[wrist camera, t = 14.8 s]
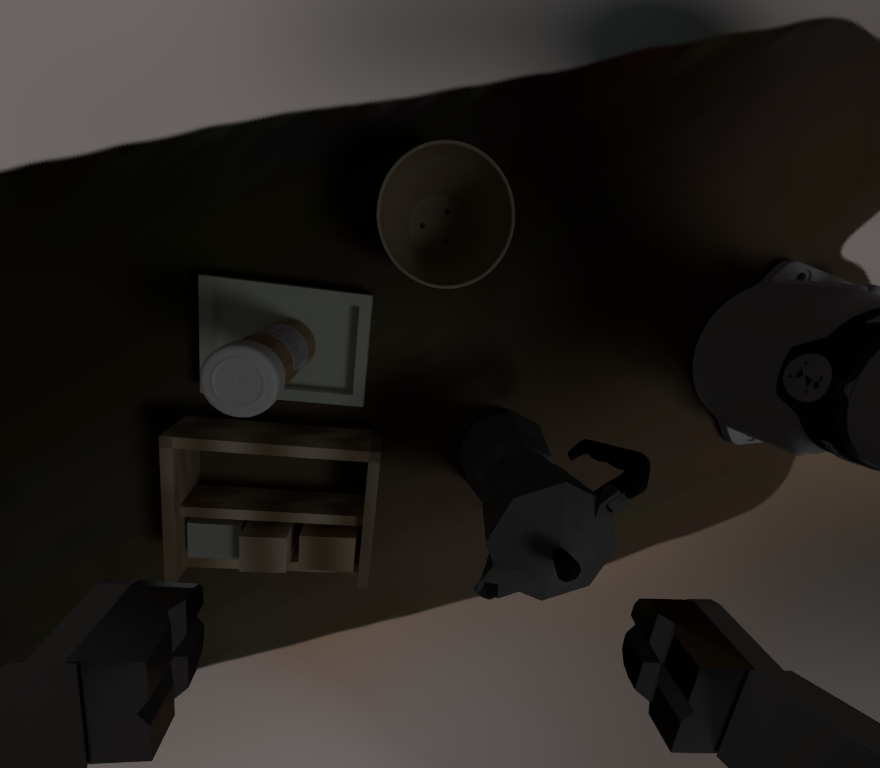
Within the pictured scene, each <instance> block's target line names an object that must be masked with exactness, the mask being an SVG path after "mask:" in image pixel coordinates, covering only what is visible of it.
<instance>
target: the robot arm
mask: <svg viewBox="0 0 880 768" xmlns="http://www.w3.org/2000/svg"><path fill="white" fill-rule="evenodd" d="M798 275H799V278H798V280H797V277H798ZM692 372H693V381H694V386H695V389H696V392H697V394H698V396H699V398H700V400H701V402H702V403H703V404H704V406H705V407H706V408H707V409H708V410H709V411H710V412H711V413H712V414H713V415H714V416H715V417H716V419H717V420H718V423H719V426H720V430H721V433H722V435H723V437H724V439H725V440H726V441H728V442H730V443H733V444H736V445H743V444H751V443H760V442H765V443H767V444H770V445H772V446H774V447H777V448H779V449H782V450H784V451H787V452H789V453H792V454H795V455H798V456H805V455H806V454H818V453H824V452H830V453H832V454H834V455H836V456H837V457H839V458H841V459H843V460H846V461H848V462H851V463H853V464H857V465H861V466H865V467H868V468H870V469H874V470H878V471H880V286H877V285H864V286H863V285H856V284H852V283H850V282H848V281H845V280H843V279H840V278H838V277H836V276H833V275H831V274H828V273H826V272H823V271H821V270H819V269H816V268H814V267H811V266H809V265H806V264H804V263H802V262H799V261H792V260H785V261H782V262H780V263H779V264H778V265H776V266H775V267H774V268H773V269H772V270H771V271H770V272H769V273H768V274H767V275H766V276H765V277H764V278H763V279H762V281H760V282H759V283H758V284H756V285H754V286H753V287H751V288H749V289H746V290H745V291H743V292H741V293H739V294H737V295H736V296H734V297H733V298H731V299H730V300H728V301H727V302H726V303H725V304H724V305H722V306H721V307H720V308H719V309H718V310H717V312H716V313H715V314H714V315H713V316H712V317H711V319H710V320H709V322H708V323H707V324H706V326H705V328H704V329H703V331H702V333H701V335H700V338H699V340H698V342H697V345H696V349H695V352H694V357H693V367H692ZM203 604H204V596H203V587H202V586H201V585H200V584H193V583H175V582H158V581H140V580H139V581H130V580H112V579H107V580H105V581H102V582H100V583H98V584H97V585H96V586H95V587H94V588H93V589H92V590H91V591H90V592H89V593H88V594H87V595H86V596H85V597H84V598H83V599H82V601H81V602H80V603H79V604H78V605H77V606H76V607H75V608H74V609H73V610H72V611H71V612H70V613H69V614H68V615H67V616H66V617H65V619H64V620H63V621H62V622H61V623H60V624H59V625H58V626H57V627H56V628H55V629H54V630H53V631H52V632H51V633H50V634H49V635H48V637H47V638H46V639H45V640H44V641H43V642H42V643H41V644H40V645H39V646H38V647H37V648H36V649H35V650H34V651H33V652H32V653H31V655H30V656H29V657H28V658H27V659H26V660H25V661H24V662H23V663H10V664H8V665H6V666H4V667H2V668H1V669H0V768H87V764H95V763H96V764H98V763H116V762H117V763H119V762H140V761H152V760H153V758H154V756H155V754H156V752H157V750H158V748H159V745H160V744H161V742H162V739H163V737H164V736H165V733H166V732H167V730H168V727H169V726H170V724H171V721H172V719H173V717H174V715H175V710H174V699H175V698H176V697H177V696H178V695H180V694H181V693H182V692H183V691H185V690H186V689H187V688H188V687H189V685H190V683H191V680H192V678H193V676H194V674H195V672H196V670H197V666H198V663H199V660H200V657H201V653H202V649H203V642H204V624H203V623H202V621H201V620H200V619H199V618H198V617H197V615H198V613H199V611H200V609H201V608H202V606H203ZM631 616H632V618H633V620H634V623H635V625H634V626H633V627H632V628H631V629H630V630H629V631H628V632H627V633H626V634H625V638H624V643H623V647H622V652H623V662H624V666H625V669H626V672H627V675H628V678H629V679H630V681H631V683H632V685H633V687H634V688H635V690H636V691H637V692H639V693H640V694H641V695H642V696H644V697H645V698H646V699H647V700H648V701H649V715H650V717H651V718H652V720H653V722H654V724H655V726H656V727H657V729H658V731H659V733H660V734H661V736H662V738H663V740H664V741H665V743H666V745H667V746H668V748H669V750H670V752H675V753H718V754H717V757H718V758H719V759H720V760H721V761H722V762H723V763H724V764H725V765H727V766H728V767H729V768H880V723H879V722H877V721H875V720H873V719H872V718H870V717H869V716H867V715H865V714H864V713H862V712H860V711H858V710H857V709H855V708H853V707H852V706H850V705H848V704H847V703H845V702H843V701H842V700H840V699H838V698H836V697H835V696H833V695H831V694H830V693H828V692H826V691H825V690H823V689H821V688H820V687H818V686H816V685H814V684H813V683H811V682H809V681H808V680H806V679H804V678H803V677H801V676H799V675H798V674H796V673H794V672H793V671H784V670H783V669H782V668H781V667H780V666H779V665H778V664H777V663H776V662H775V661H774V660H773V659H772V658H771V657H770V656H769V655H768V654H767V653H766V652H765V651H764V650H763V649H762V648H761V646H760V645H759V644H758V643H757V642H756V641H755V640H754V639H753V638H752V637H751V636H750V635H749V634H748V633H747V632H746V631H745V630H744V629H743V628H742V627H741V626H740V625H739V624H738V623H737V622H736V621H735V620H734V618H733V617H732V616H731V615H730V614H729V613H728V612H727V611H726V610H725V609H724V608H723V607H722V606H721V605H720V604H718V603H716V602H714V601H713V600H711V599H687V600H678V599H639V600H638V601H637V602H636V603H635V604H634V606H633V610H632V613H631Z"/></svg>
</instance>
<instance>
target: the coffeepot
mask: <svg viewBox="0 0 880 768" xmlns="http://www.w3.org/2000/svg"><path fill="white" fill-rule="evenodd" d="M586 453H587V454H589V455H590V456H591V457H592V458H593V459H595V460H597V461H602V462H608V463H609V464H610V465H612V466H614V467H615V468H618V469H621V470H624V472H623V473H622V474H621V475H619V476H618V477H616V478H615V479H613V480H611V481H609V482H607V483H606V484H604V485H603V486H601V487H600V488H598V489H597V490H596V491H594V492H593V491H592V490H590V489H589V488H588V487H586V486H585V485H584V484H582V483H581V482H580V481H578V480H577V479H576V478H574V477H573V476H572V475H570V474H569V473H568V472H566V471H565V470H564V469H562V468H561V467H559V466H557V465H555V464H554V463H553V460H552V457H551V454H550V452H549V449H548V447H547V444H546V442H545V439H544V437H543V434H542V432H541V429H540V427H539V425H537V424H535V423H533V422H531V421H529V420H527V419H526V418H524V417H521V416H519V415H517V414H515V413H513V412H511V411H506V412H502V413H499V414H494V415H490V416H488V417H485V418H483V419H481V420H478V421H475V422H474V424H473V425H472V427H471V429H470V430H469V431H468V433H467V434H466V436H465V438H464V440H463V442H462V444H461V446H460V448H459V449H458V455H459V458H460V461H461V464H462V468H463V471H464V474H465V478H466V481H467V483H468V484H469V485H470V487H471V488H472V489H473V491H474V492H475V493H476V495H477V496H478V497H479V498H480V500H481V501H482V505H483V515H484V526H485V536H486V542H487V546H488V550H489V555H488V559H487V562H486V565H485V568H484V571H483V574H482V577H481V579H480V580H479V581H478V583H477V584H476V585H475V588H474V590H475V591H476V593H477V594H479V595H480V596H481V597H483V598H486V599H493V598H495V597H497V598H500V597H503V596H507V595H510V594H512V593H516V592H522V593H524V594H526V595H529V596H531V597H534V598H536V599H539V600H545V599H548V598H551V597H555V596H558V595H561V594H564V593H567V592H570V591H574V590H577V589H580V588H583V587H586V586H589V585H590V584H591V582H592V581H593V580H594V578H595V577H596V575H597V574H598V573H599V571H600V570H601V568H602V567H603V566H604V564H605V563H606V561H607V560H608V558H609V557H610V556H611V554H612V553H613V551H614V550H615V549H616V547H617V542H616V537H615V532H614V527H613V522H612V517H613V516H615V515H616V514H617V513H619V512H620V511H621V510H623V509H624V508H626V507H627V506H628V505H629V503H628V502H627V501H628V500H629V499H631V498H633V497H635V496H637V495H639V494H640V493H642V492H643V491H644V490H645V489H646V488H647V484H648V479H649V474H650V462H649V459H648V458H647V457H646V456H645V455H644V454H643V453H640V452H637V451H634V450H628V449H623V448H619V447H616V446H612V445H608V444H604V443H600V442H596V441H592V440H588V439H584V440H582V441H580V442H579V443H577V444H576V445H575V446H574V447H573V448H572V449H571V450H570V451H569V452H568V456H569V458H570V460H573V459H575V458H577V457H579V456H581V455H583V454H586Z"/></svg>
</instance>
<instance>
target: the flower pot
mask: <svg viewBox="0 0 880 768" xmlns="http://www.w3.org/2000/svg"><path fill="white" fill-rule="evenodd" d="M446 209H447V213H445V210H446ZM376 217H377V227H378V232H379V235H380V239H381V242H382V244H383V247H384V249H385V251H386V252H387V254H388V256H389V257H390V259H391V260H392V262H393V263H394V264H395V265H396V266H397V267H398V268H399V269H400V270H401V271H402V272H403V273H404V274H405V275H407V276H408V277H410V278H411V279H413V280H415V281H416V282H418V283H421V284H423V285H426V286H429V287H434V288H440V289H453V288H459V287H463V286H467V285H469V284H472V283H474V282H476V281H478V280H480V279H482V278H483V277H484V276H486V275H487V274H488V273H490V272H491V271H492V270H493V269H494V268H495V267H496V266H497V264H498V263H499V262H500V260H501V259H502V258H503V256H504V254H505V252H506V251H507V249H508V246H509V244H510V241H511V238H512V235H513V230H514V224H515V206H514V199H513V195H512V191H511V188H510V186H509V183H508V181H507V179H506V177H505V175H504V174H503V172H502V171H501V169H500V168H499V167H498V165H497V164H496V163H495V162H494V161H493V160H492V159H491V158H490V157H489V156H488V155H487V154H485V153H484V152H482V151H481V150H479V149H478V148H476V147H474V146H472V145H469V144H467V143H464V142H460V141H455V140H436V141H430V142H427V143H424V144H421V145H419V146H417V147H415V148H413V149H411V150H410V151H408V152H407V153H405V154H404V155H403V156H402V157H401V158H400V159H399V160H398V161H397V162H396V163H395V164H394V165H393V166H392V168H391V169H390V170H389V172H388V173H387V175H386V177H385V179H384V181H383V183H382V186H381V189H380V192H379V196H378V201H377V212H376ZM421 226H424V228H421ZM446 239H447V240H448V242H446Z"/></svg>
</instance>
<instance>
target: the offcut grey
mask: <svg viewBox="0 0 880 768" xmlns="http://www.w3.org/2000/svg"><path fill="white" fill-rule="evenodd" d="M248 521H249V520H235V519H216V518H197V517H192V518H191V519H190V520H189V521H188V523H187V538H188V558H212V559H235V560H239V536H240V534H241V533H242V531H243V529H244V527H245V526H246V524H247V522H248Z"/></svg>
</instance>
